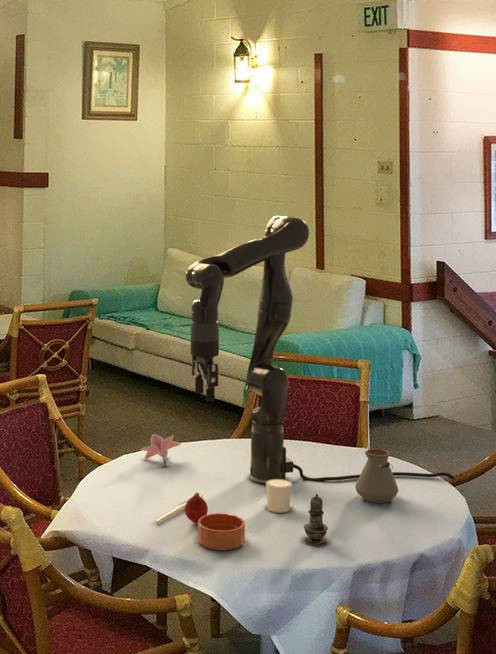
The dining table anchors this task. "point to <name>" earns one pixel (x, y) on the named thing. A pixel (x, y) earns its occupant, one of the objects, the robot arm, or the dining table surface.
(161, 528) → the dining table surface
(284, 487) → the cream cylinder
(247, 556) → the dining table surface
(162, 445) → the lily
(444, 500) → the dining table surface
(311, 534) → the pawn-shaped pepper mill
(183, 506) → the fork
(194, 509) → the onion
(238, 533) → the bowl
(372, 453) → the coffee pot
